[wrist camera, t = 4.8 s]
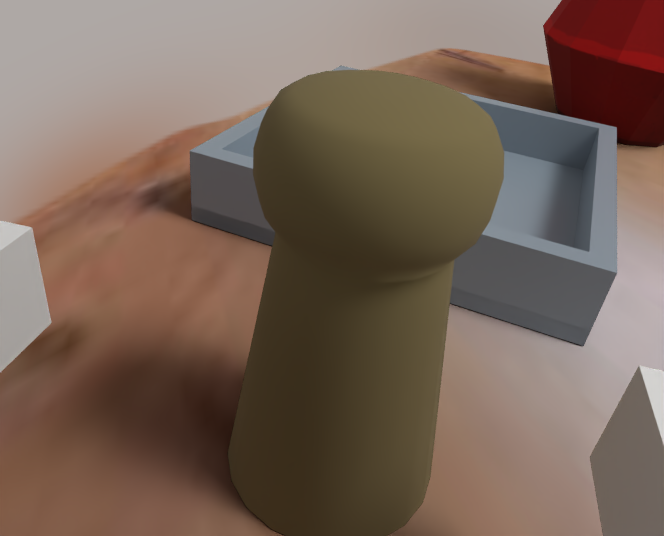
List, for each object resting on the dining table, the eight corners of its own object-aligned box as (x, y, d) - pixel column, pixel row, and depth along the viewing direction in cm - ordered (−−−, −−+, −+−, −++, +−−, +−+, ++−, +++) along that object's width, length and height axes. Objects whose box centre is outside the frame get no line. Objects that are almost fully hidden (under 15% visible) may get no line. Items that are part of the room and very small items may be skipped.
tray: (335, 115, 42) (340, 65, 40) (596, 180, 37) (616, 127, 35) (191, 220, 28) (189, 150, 26) (583, 345, 23) (616, 272, 21)
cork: (187, 435, 18) (172, 57, 11) (337, 355, 21) (385, 35, 15) (319, 597, 14) (399, 177, 8) (471, 468, 18) (606, 112, 12)
